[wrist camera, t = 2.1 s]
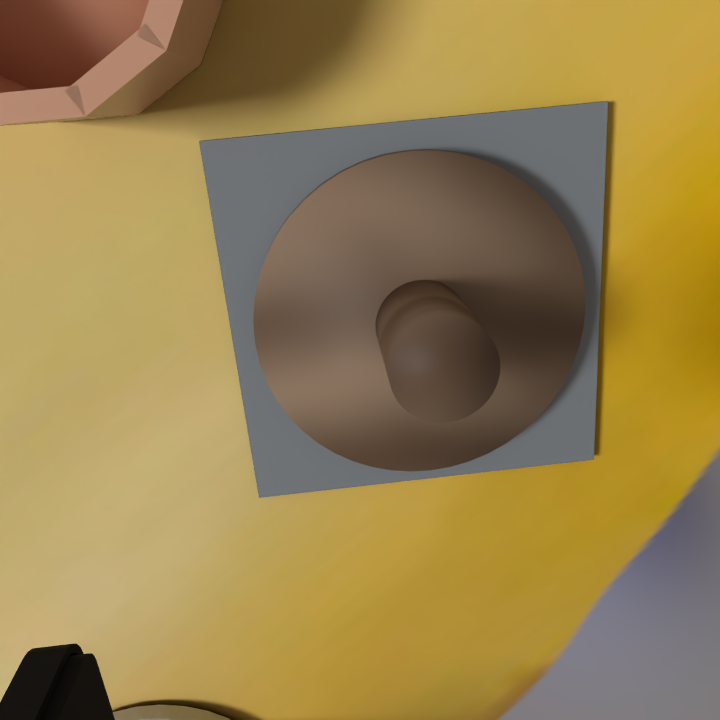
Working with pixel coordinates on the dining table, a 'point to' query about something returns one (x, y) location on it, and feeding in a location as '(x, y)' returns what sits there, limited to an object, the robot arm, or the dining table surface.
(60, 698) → the robot arm
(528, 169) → the mat
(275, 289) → the lid
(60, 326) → the dining table surface
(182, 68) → the bowl
